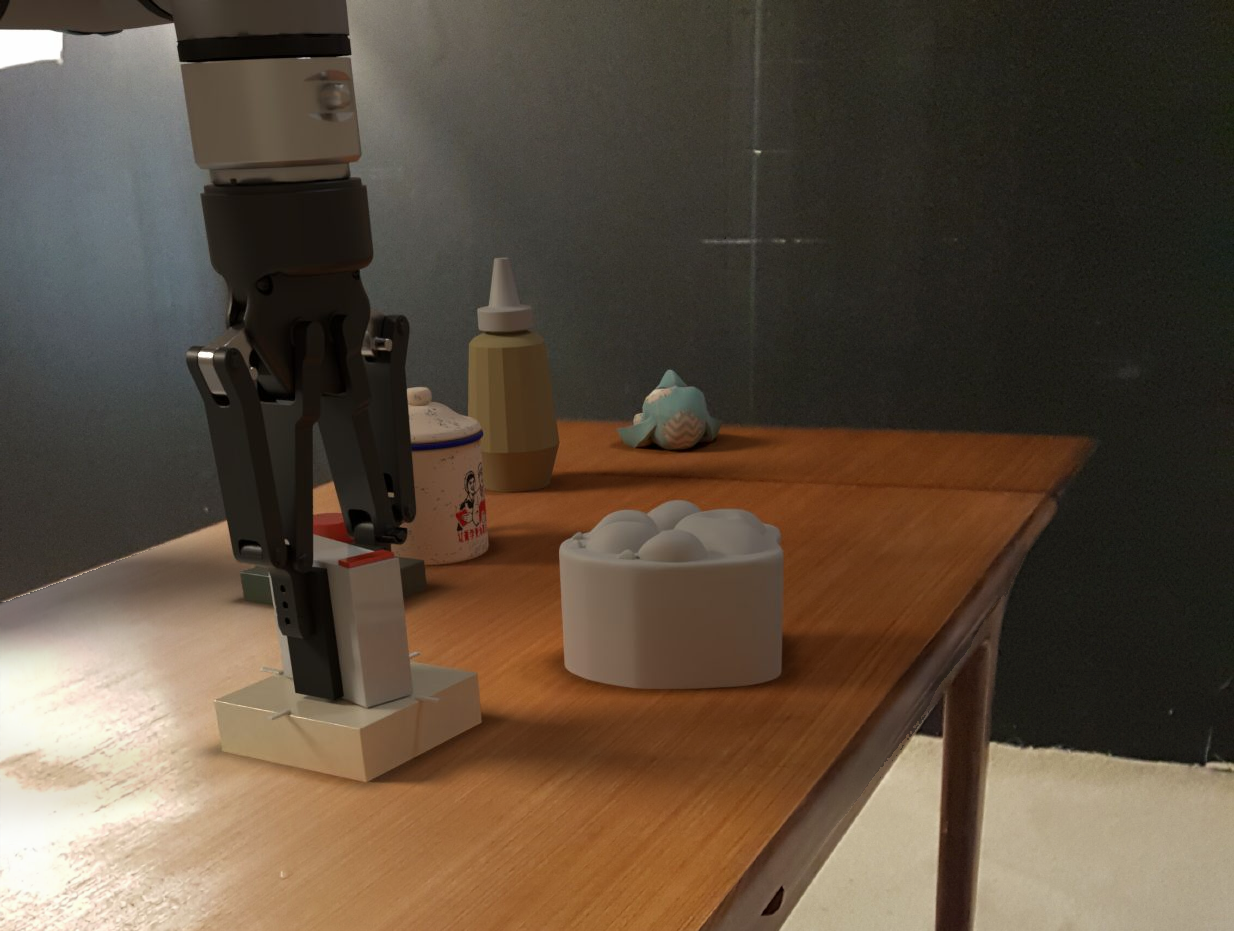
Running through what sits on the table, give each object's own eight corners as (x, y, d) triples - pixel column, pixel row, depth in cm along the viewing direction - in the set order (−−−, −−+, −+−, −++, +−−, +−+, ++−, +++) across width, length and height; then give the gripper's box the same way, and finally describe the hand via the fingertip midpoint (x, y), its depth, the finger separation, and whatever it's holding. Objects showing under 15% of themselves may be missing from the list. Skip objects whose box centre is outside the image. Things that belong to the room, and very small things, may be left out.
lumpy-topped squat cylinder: (783, 689, 90) (786, 533, 86) (557, 694, 91) (549, 539, 86) (776, 636, 99) (779, 492, 94) (571, 641, 100) (564, 498, 95)
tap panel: (193, 757, 84) (182, 700, 83) (341, 691, 93) (334, 638, 91) (370, 797, 79) (362, 736, 77) (510, 722, 87) (506, 666, 86)
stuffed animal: (706, 370, 157) (737, 361, 146) (710, 448, 160) (741, 445, 149) (601, 378, 155) (624, 369, 144) (606, 456, 158) (630, 453, 147)
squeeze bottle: (508, 501, 134) (492, 264, 125) (452, 488, 140) (432, 260, 130) (580, 486, 139) (570, 255, 129) (523, 474, 144) (509, 251, 134)
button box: (244, 603, 110) (234, 544, 108) (320, 576, 116) (312, 519, 113) (354, 621, 105) (347, 559, 103) (427, 591, 111) (422, 533, 109)
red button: (292, 548, 108) (288, 521, 107) (327, 536, 111) (323, 510, 110) (332, 553, 106) (329, 526, 105) (366, 541, 109) (363, 515, 108)
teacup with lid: (485, 567, 116) (472, 396, 110) (363, 570, 116) (343, 400, 110) (501, 529, 126) (489, 371, 120) (388, 532, 126) (371, 374, 120)
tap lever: (283, 675, 86) (262, 538, 82) (329, 663, 87) (311, 528, 84) (366, 708, 81) (348, 564, 77) (414, 694, 82) (398, 552, 78)
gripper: (207, 185, 64) (293, 742, 76) (460, 162, 76) (498, 647, 88) (80, 187, 67) (182, 719, 80) (341, 165, 79) (394, 631, 92)
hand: (348, 680), depth 84 cm, fingers open, 4 cm apart
